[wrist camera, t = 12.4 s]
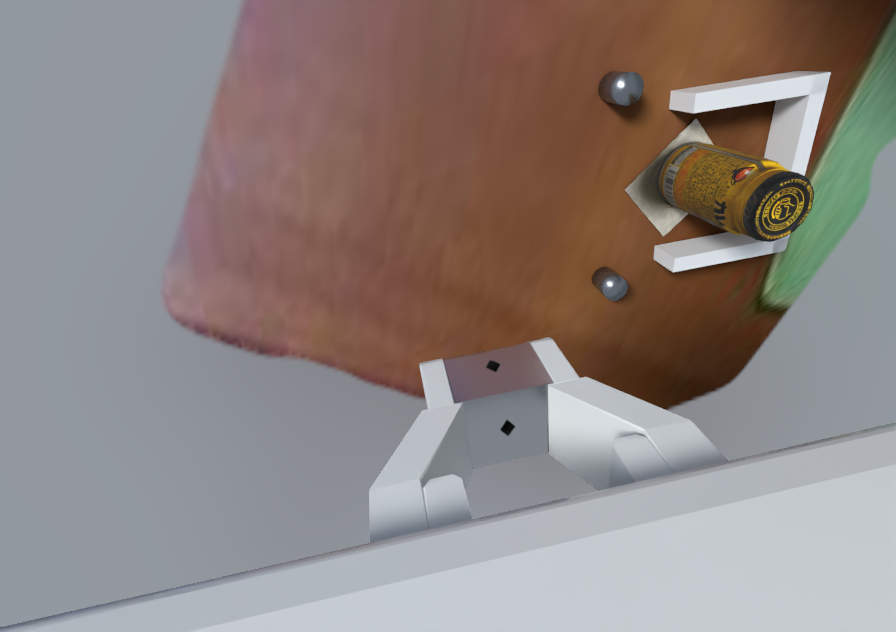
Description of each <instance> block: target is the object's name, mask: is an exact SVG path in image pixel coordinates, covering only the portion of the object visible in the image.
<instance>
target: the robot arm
mask: <svg viewBox="0 0 896 632" xmlns="http://www.w3.org/2000/svg"><path fill="white" fill-rule="evenodd" d="M420 370H421V376H422V381H423V386H424V392H425V397H426V402H427V407H428V410H423V411H421V413H420V414H419V416H418V417H417V419H416V420H415V422H414V423H413V425H412V426H411V428H410V429H409V431H408V432H407V434H406V436H405V437H404V439H403V440H402V442H401V443H400V445H399V446H398V448H397V449H396V451H395V452H394V454H393V455H392V457H391V458H390V460H389V461H388V463H387V464H386V466H385V467H384V469H383V470H382V472H381V473H380V475H379V477H378V478H377V479H376V481H375V482H374V484H373V485H372V487H371V488H370V490H369V509H370V543H368V544H363V545H359V546H355V547H350V548H346V549H342V550H338V551H333V552H329V553H324V554H320V555H316V556H311V557H307V558H302V559H298V560H294V561H289V562H285V563H280V564H276V565H271V566H267V567H263V568H259V569H254V570H250V571H245V572H241V573H236V574H232V575H228V576H223V577H219V578H215V579H211V580H206V581H202V582H197V583H193V584H188V585H184V586H180V587H176V588H171V589H166V590H162V591H158V592H154V593H149V594H144V595H140V596H135V597H131V598H127V599H122V600H118V601H114V602H109V603H105V604H101V605H96V606H92V607H87V608H83V609H79V610H74V611H70V612H65V613H61V614H57V615H52V616H48V617H43V618H39V619H35V620H30V621H26V622H21V623H17V624H13V625H8V626H4V627H0V632H896V423H892V424H888V425H884V426H879V427H875V428H871V429H866V430H862V431H857V432H853V433H849V434H844V435H840V436H836V437H831V438H827V439H822V440H819V441H814V442H809V443H805V444H801V445H797V446H792V447H788V448H784V449H779V450H775V451H771V452H767V453H763V454H758V455H753V456H749V457H744V458H740V459H736V460H731V461H728V460H727V459H726V458H725V457H724V456H723V455H722V454H721V453H720V452H719V450H718V449H717V448H716V447H715V446H714V445H713V444H712V443H711V442H710V441H709V440H708V438H707V437H706V436H705V435H704V434H703V433H702V432H701V431H700V430H699V429H698V428H697V426H696V425H695V424H694V423H693V422H692V421H691V420H688V419H686V418H684V417H681V416H679V415H676V414H674V413H672V412H669V411H667V410H664V409H662V408H660V407H657V406H655V405H653V404H650V403H648V402H645V401H643V400H641V399H638V398H636V397H633V396H631V395H629V394H626V393H624V392H621V391H619V390H617V389H614V388H612V387H609V386H607V385H605V384H602V383H600V382H597V381H595V380H593V379H590V378H588V377H583V378H580V377H579V376H578V375H577V373H576V372H575V370H574V369H573V368H572V366H571V365H570V363H569V362H568V360H567V359H566V358H565V356H564V355H563V353H562V352H561V350H560V349H559V348H558V346H557V345H556V343H555V342H554V340H553V339H552V338H550V337H547V338H543V339H539V340H535V341H530V342H528V343H523V344H519V345H514V346H509V347H505V348H500V349H495V350H490V351H483V352H477V353H471V354H466V355H460V356H454V357H449V358H443V360H442V359H437V360H432V361H427V362H422V363H420ZM543 453H549V455H551V456H552V457H553V458H555V459H556V460H557V461H559V462H560V463H562V464H563V465H564V466H566V467H567V468H569V469H570V470H571V471H572V472H574V473H575V474H576V475H578V476H579V477H580V478H582V479H583V480H585V481H586V482H587V483H589V484H590V485H591V486H593V487H594V488H595V489H597V490H598V491H595V492H590V493H586V494H582V495H577V496H573V497H569V498H564V499H560V500H555V501H552V502H547V503H542V504H538V505H534V506H529V507H525V508H521V509H516V510H512V511H508V512H503V513H499V514H494V515H491V516H486V517H481V518H477V519H473V520H472V516H471V512H470V508H469V504H468V500H467V497H466V493H465V490H466V488H467V485H468V482H469V479H470V477H471V474H472V469H475V468H479V467H483V466H487V465H491V464H495V463H499V462H503V461H507V460H512V459H517V458H522V457H527V456H533V455H538V454H543Z"/></svg>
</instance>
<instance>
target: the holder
mask: <svg viewBox="0 0 896 632" xmlns="http://www.w3.org/2000/svg"><path fill="white" fill-rule="evenodd" d="M830 74H831V72H813V71H794V72H787V73H781V74H775V75H768V76H762V77H756V78H749V79H743V80H737V81H730V82H724V83H717V84H711V85H705V86H698V87H692V88H686V89H679V90H673V91H671V96H670V106H669V109H670V110H676V111H682V112H688V113H699V112H705V111H711V110H718V109H724V108H730V107H736V106H742V105H748V104H755V103H761V102H767V101H773V100H776V102H775V107H774V112H773V117H772V122H771V126H770V131H769V136H768V141H767V146H766V151H765V155H764V158H767V159H769V160H772V161H775V162H778V163H779V164H780V165H782V166H783V167H784V168H785V169H787V170H789V171H791V172H796V173H799V174H802V175H803V176H805V172H806V168H807V164H808V160H809V156H810V153H811V149H812V145H813V141H814V137H815V133H816V129H817V125H818V121H819V117H820V113H821V109H822V105H823V102H824V98H825V94H826V90H827V86H828V82H829V78H830ZM789 235H790V234H789ZM789 235H788V236H786V237H783V238H781V239H778V240H775V241H773V242H766V241H760V240H755V239H754V238H752V237H749V236H746V235H737V234H732V233H730V232H726V233H720V234H715V235H710V236H704V237H699V238H694V239H688V240H683V241H678V242H672V243H667V244H661V245H656V246H655V249H654V260H655V261H657V262H658V263H660V264H661V265H663V266H664V267H666V268H667V269H669V270H670V271H672V272H678V271H683V270H688V269H694V268H699V267H704V266H709V265H714V264H720V263H725V262H730V261H735V260H740V259H746V258H751V257H756V256H761V255H766V254H772V253H777V252H782V251H786V247H787V243H788V239H789Z"/></svg>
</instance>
